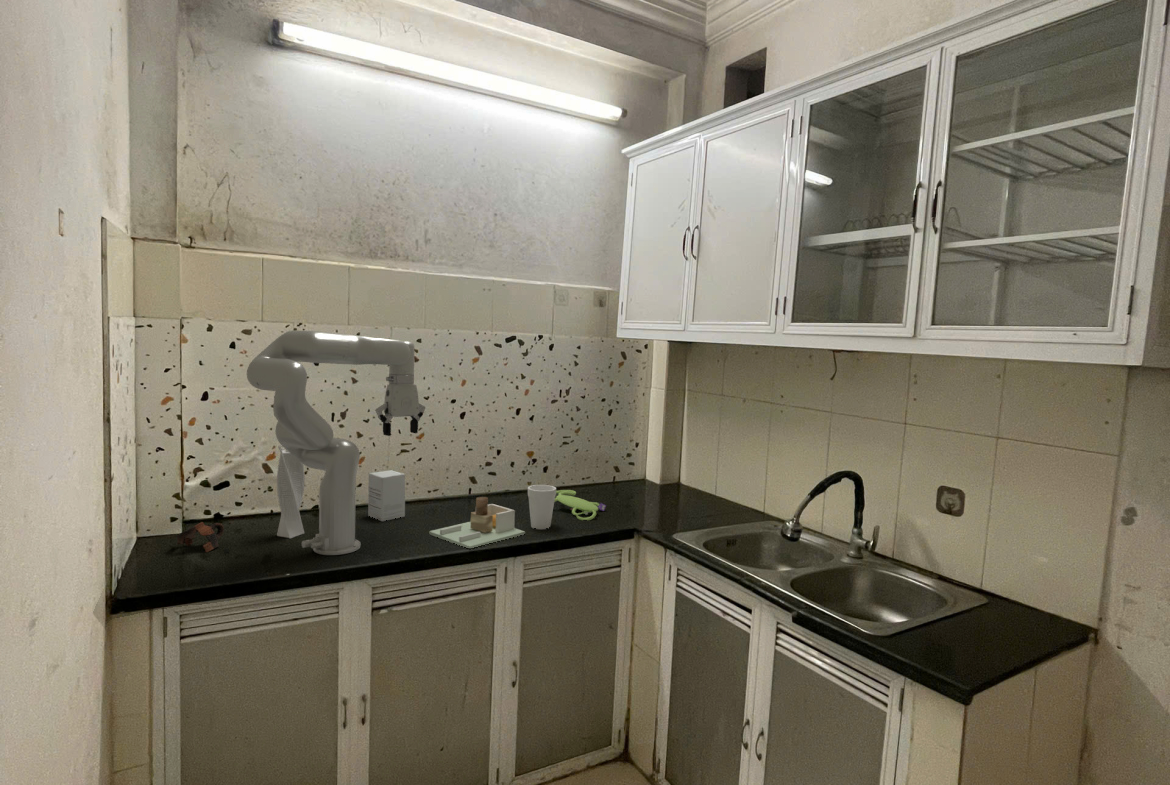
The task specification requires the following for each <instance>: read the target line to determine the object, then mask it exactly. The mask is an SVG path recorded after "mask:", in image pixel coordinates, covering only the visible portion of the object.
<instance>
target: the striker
mask: <svg viewBox="0 0 1170 785" xmlns="http://www.w3.org/2000/svg"><path fill="white" fill-rule="evenodd" d="M475 502H476V504H475V511H471V512H470V522H471V528H472V529H475V530H478V531H481V532H484V533H486V532H490V531H492V520H493V515H490V514H487V512H488V505H489V498H488V497H487V496H479V497H476V498H475Z"/></svg>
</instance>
